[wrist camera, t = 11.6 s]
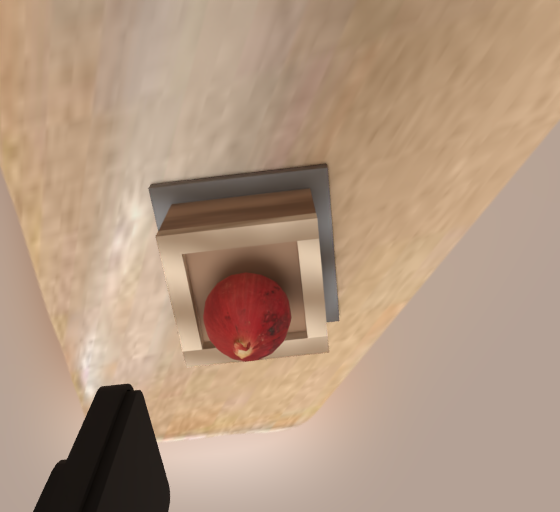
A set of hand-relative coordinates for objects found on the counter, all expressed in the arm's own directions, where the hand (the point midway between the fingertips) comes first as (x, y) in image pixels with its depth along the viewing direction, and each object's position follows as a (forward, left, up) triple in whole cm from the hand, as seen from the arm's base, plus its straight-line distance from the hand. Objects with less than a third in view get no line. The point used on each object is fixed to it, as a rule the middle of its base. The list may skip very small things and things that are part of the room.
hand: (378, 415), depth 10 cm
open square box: (+11, -5, -32) cm, 34 cm away
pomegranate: (+11, -5, -26) cm, 29 cm away
